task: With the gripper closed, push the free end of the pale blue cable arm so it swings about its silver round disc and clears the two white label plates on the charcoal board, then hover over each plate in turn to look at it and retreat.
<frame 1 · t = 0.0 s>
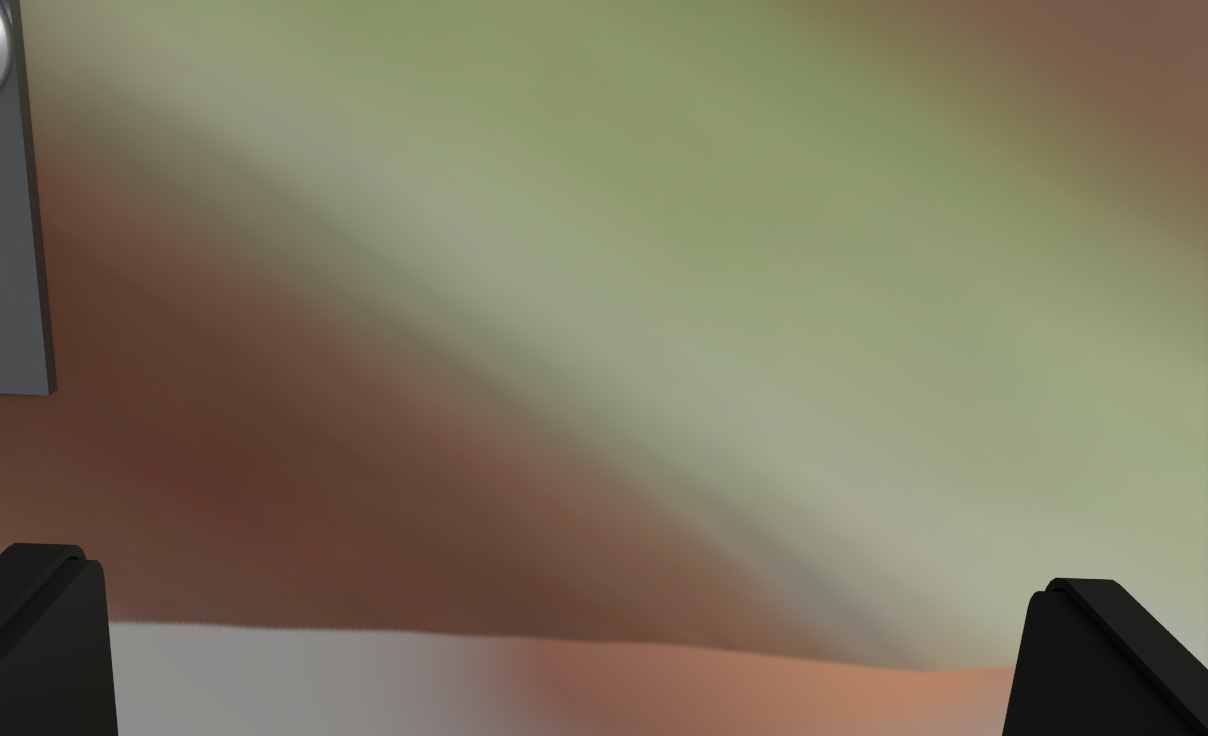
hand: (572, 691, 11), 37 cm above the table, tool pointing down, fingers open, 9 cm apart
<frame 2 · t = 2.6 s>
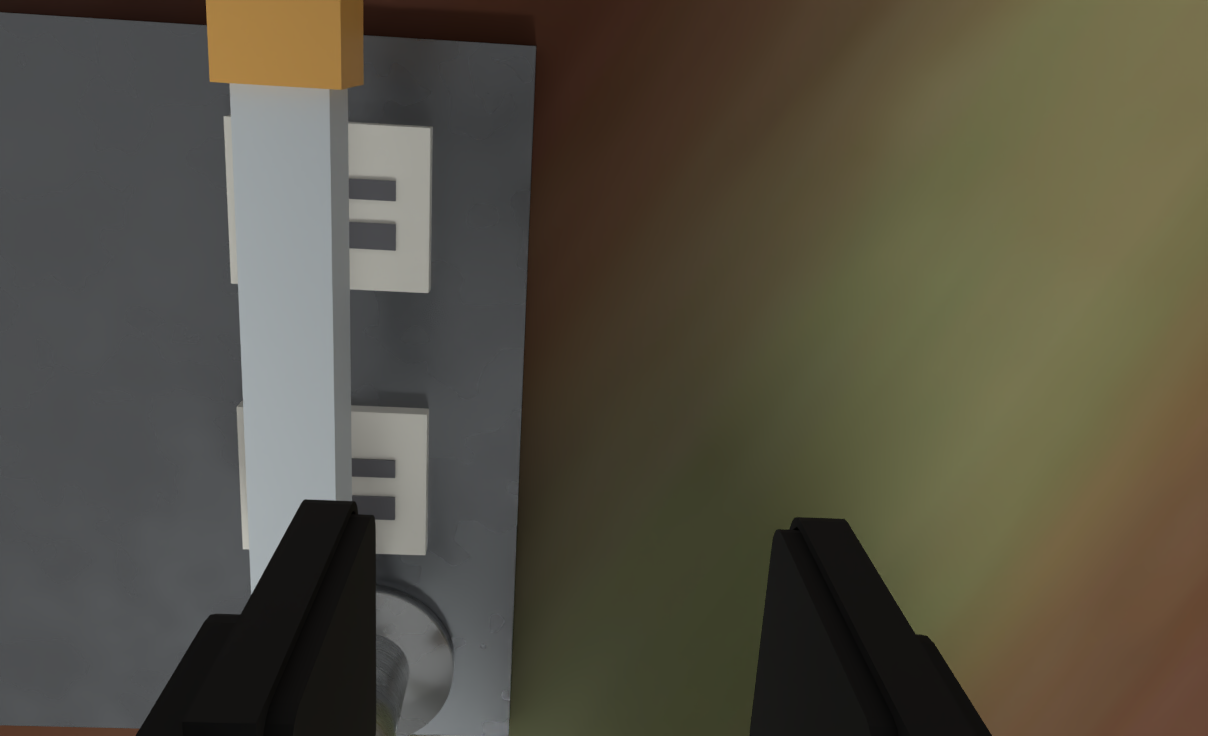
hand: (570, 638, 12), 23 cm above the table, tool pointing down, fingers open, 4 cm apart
silver round disc: (372, 648, 38), resting on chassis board
cable arm: (304, 513, 26), point 10 cm above the table, hinge at 0.0°
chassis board: (218, 405, 35), on the table
label plate a: (341, 466, 36), resting on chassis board
label plate b: (338, 200, 33), resting on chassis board
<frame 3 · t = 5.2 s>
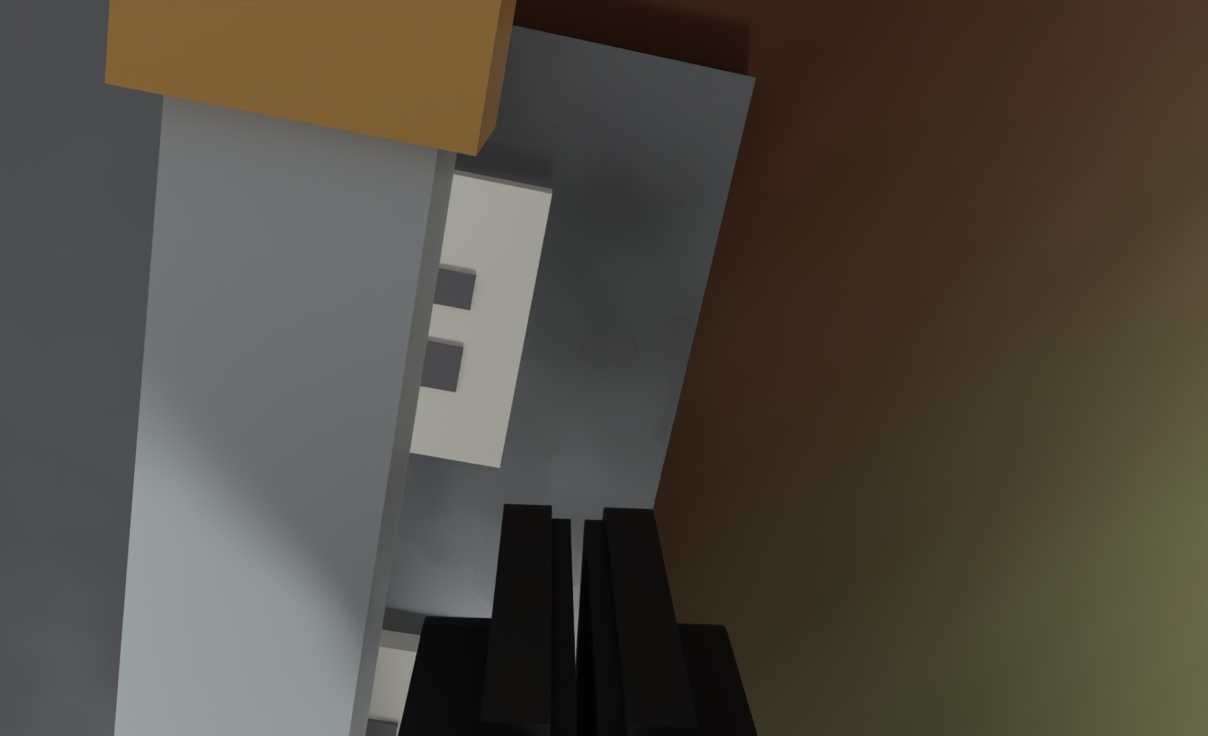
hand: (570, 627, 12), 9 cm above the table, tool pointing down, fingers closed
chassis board: (113, 587, 21), on the table
label plate a: (304, 703, 22), resting on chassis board
label plate b: (365, 285, 19), resting on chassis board
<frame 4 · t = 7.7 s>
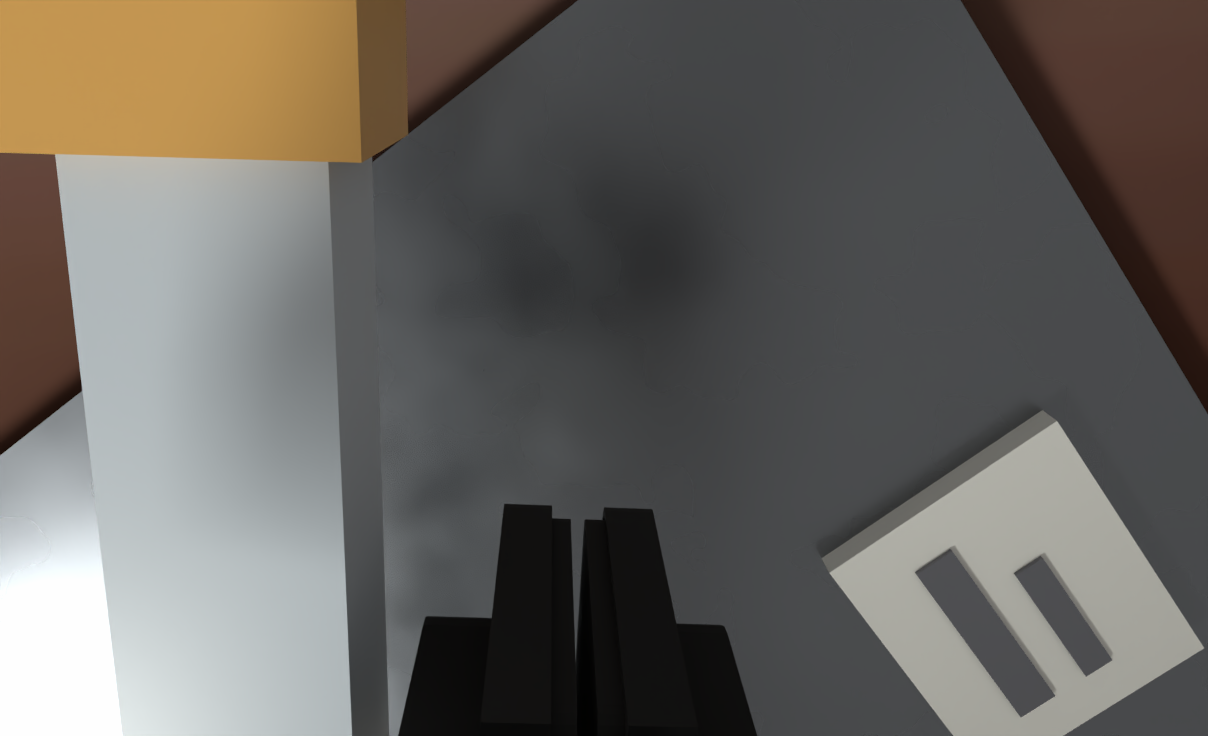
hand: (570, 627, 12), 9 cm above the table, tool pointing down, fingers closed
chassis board: (603, 627, 22), on the table
label plate b: (991, 576, 22), resting on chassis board
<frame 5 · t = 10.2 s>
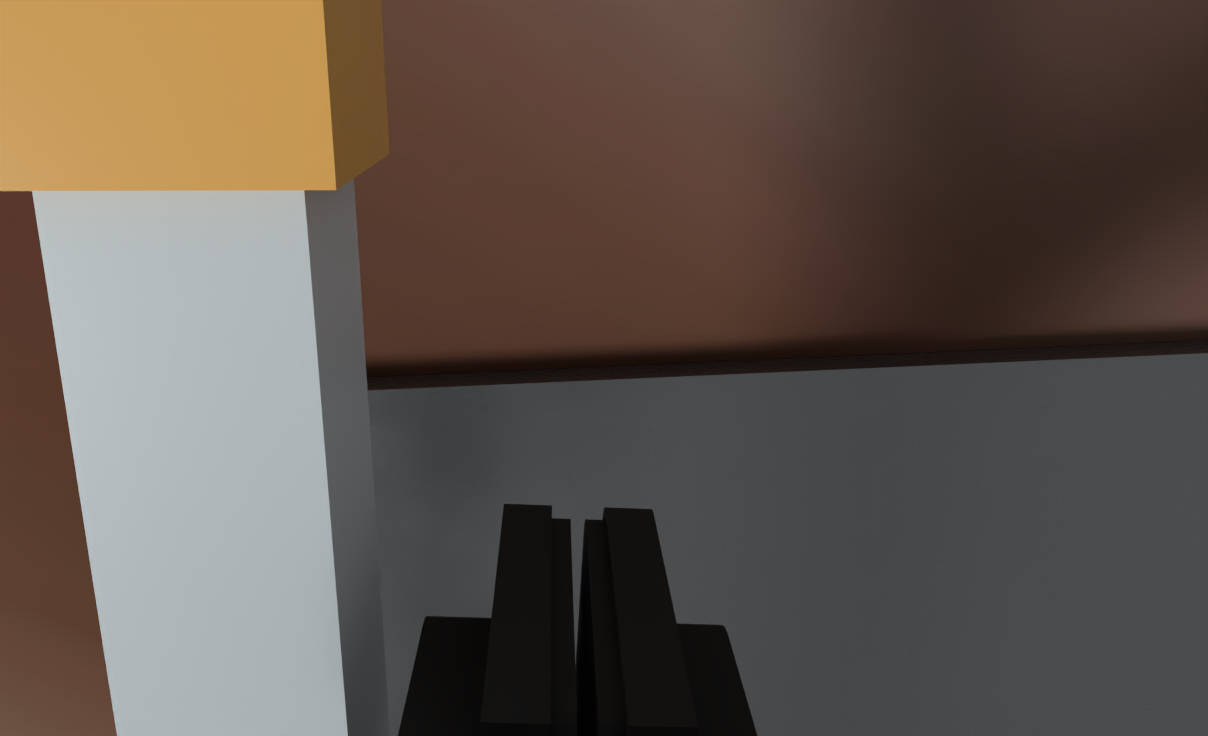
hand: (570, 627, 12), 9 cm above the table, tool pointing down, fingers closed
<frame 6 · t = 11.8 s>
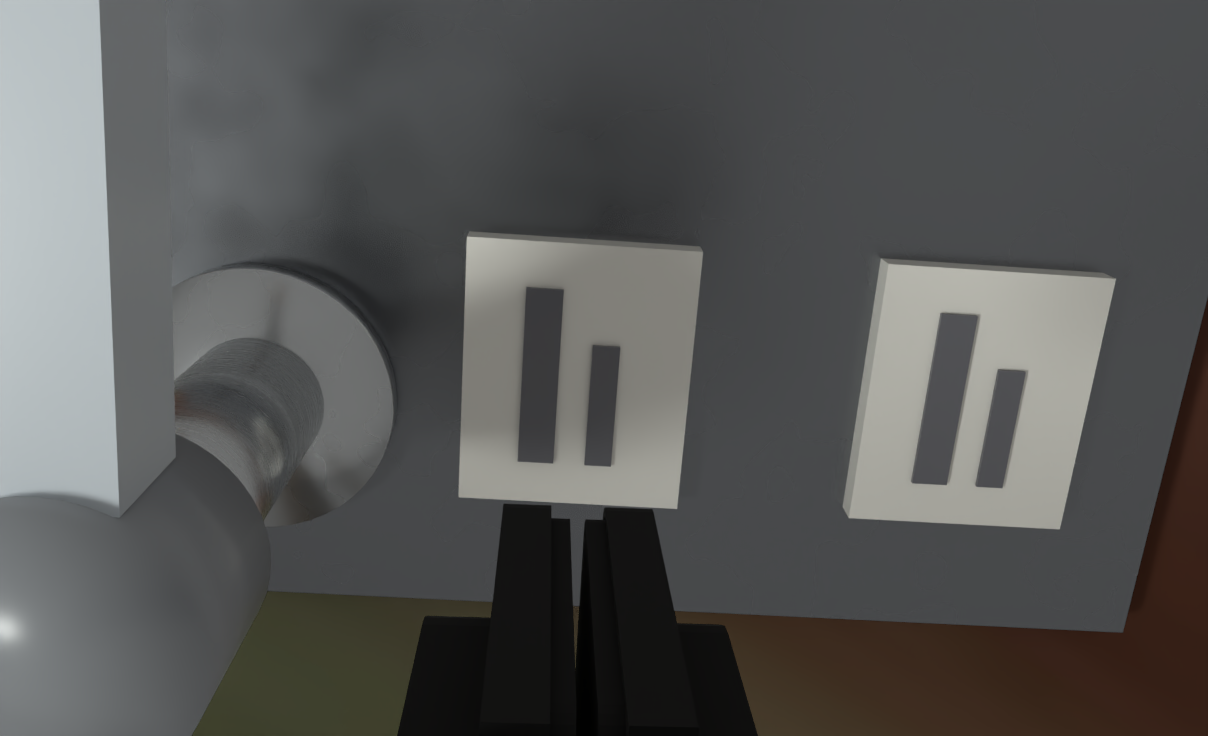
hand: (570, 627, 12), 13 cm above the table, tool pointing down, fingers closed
silver round disc: (272, 382, 24), resting on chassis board
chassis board: (677, 193, 23), on the table
label plate a: (576, 359, 25), resting on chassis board
label plate b: (956, 382, 25), resting on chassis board
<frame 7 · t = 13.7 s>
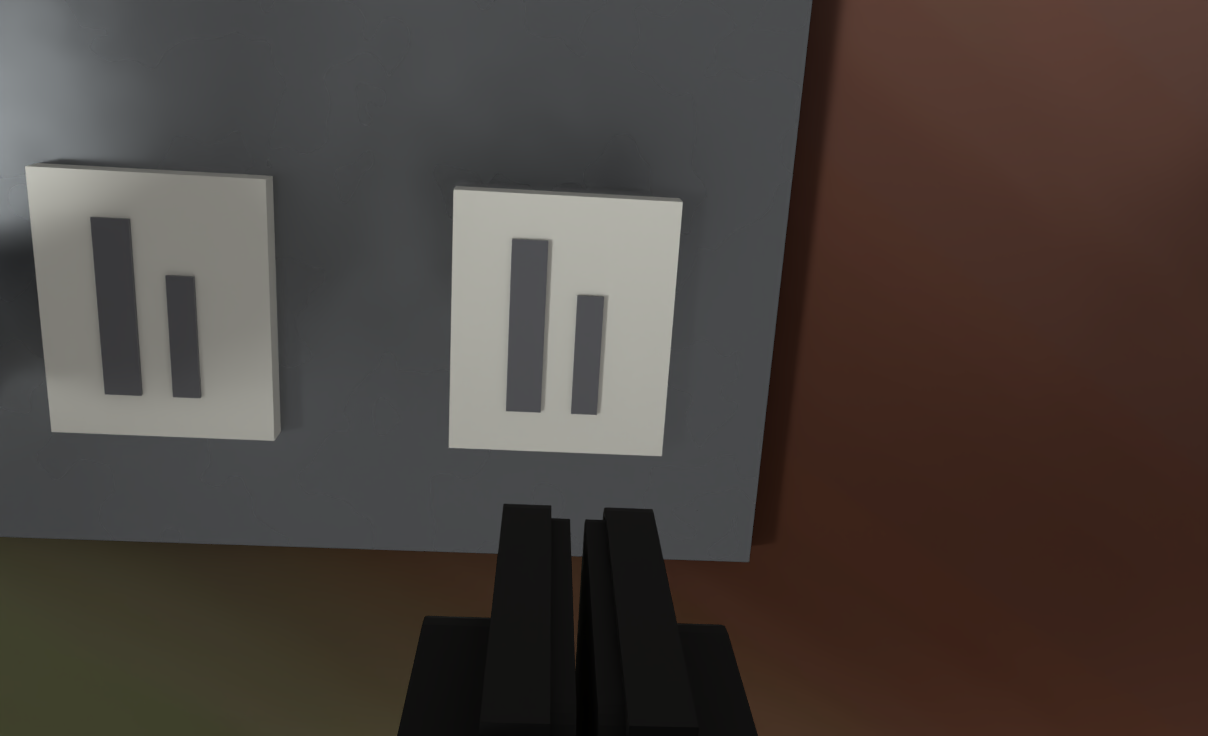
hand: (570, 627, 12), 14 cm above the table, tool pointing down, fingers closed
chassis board: (257, 125, 24), on the table
label plate a: (176, 294, 25), resting on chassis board
label plate b: (561, 313, 25), resting on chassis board
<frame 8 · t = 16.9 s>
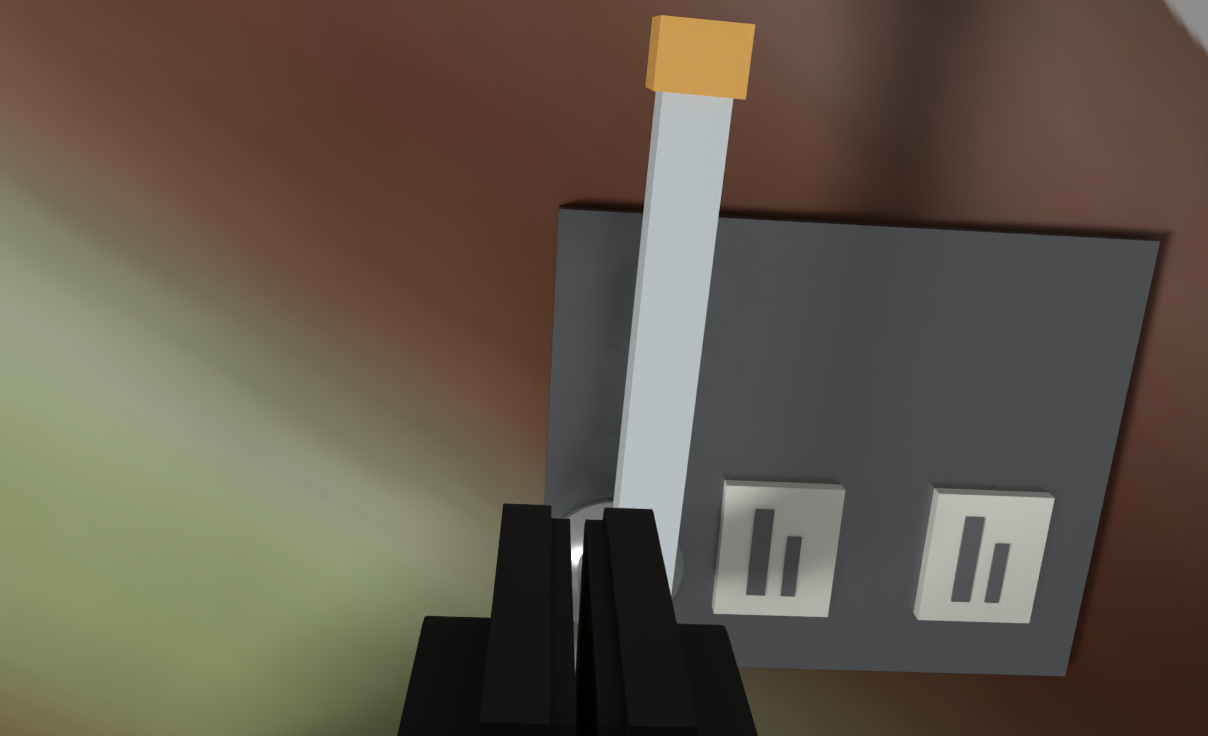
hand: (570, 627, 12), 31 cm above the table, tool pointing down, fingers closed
silver round disc: (611, 553, 46), resting on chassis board
cable arm: (655, 417, 34), point 10 cm above the table, hinge at 88.2°
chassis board: (828, 454, 45), on the table
label plate a: (772, 538, 46), resting on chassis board
label plate b: (972, 545, 47), resting on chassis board
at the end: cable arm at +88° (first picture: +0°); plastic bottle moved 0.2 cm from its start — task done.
